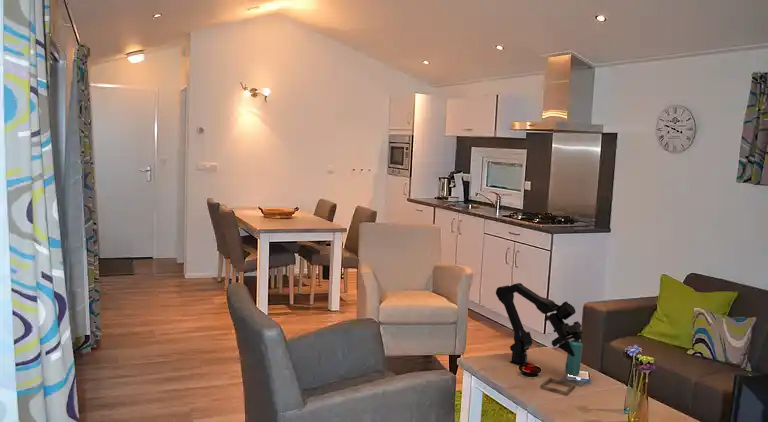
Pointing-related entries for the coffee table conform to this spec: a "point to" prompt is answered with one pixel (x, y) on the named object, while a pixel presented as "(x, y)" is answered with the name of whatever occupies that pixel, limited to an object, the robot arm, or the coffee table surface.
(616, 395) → the coffee table surface
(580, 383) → the grey coaster
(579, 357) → the beverage bottle
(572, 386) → the walnut collar
